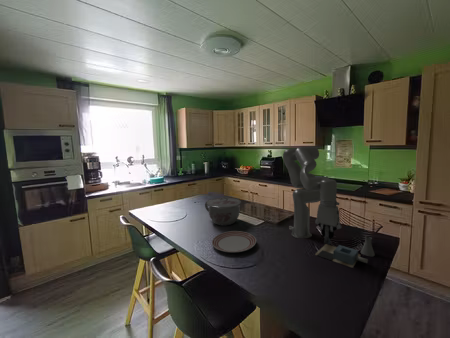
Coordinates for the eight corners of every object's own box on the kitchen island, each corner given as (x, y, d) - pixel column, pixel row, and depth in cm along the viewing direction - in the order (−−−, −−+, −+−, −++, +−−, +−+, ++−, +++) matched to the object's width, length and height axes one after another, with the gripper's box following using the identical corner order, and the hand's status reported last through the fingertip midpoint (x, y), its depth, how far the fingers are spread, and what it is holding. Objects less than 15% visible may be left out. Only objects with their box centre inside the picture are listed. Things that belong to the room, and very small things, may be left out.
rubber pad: (317, 255, 112) (317, 255, 112) (322, 250, 117) (322, 250, 116) (331, 260, 107) (331, 260, 107) (335, 255, 112) (335, 254, 112)
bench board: (314, 256, 113) (314, 254, 113) (325, 245, 124) (325, 243, 124) (352, 270, 100) (352, 267, 100) (361, 256, 112) (361, 254, 111)
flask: (360, 250, 118) (361, 233, 117) (376, 254, 113) (377, 237, 112) (358, 256, 112) (359, 238, 111) (375, 260, 108) (376, 242, 107)
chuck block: (333, 258, 109) (333, 251, 108) (339, 251, 115) (339, 244, 115) (364, 269, 99) (365, 261, 98) (369, 261, 105) (369, 253, 105)
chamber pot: (247, 225, 159) (247, 198, 157) (213, 232, 149) (212, 203, 147) (233, 214, 185) (232, 191, 183) (203, 219, 175) (201, 195, 173)
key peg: (325, 241, 112) (325, 223, 111) (331, 243, 110) (331, 224, 109) (323, 243, 110) (323, 225, 109) (329, 245, 108) (329, 226, 107)
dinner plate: (217, 260, 113) (217, 254, 113) (208, 238, 139) (207, 234, 139) (264, 251, 120) (264, 246, 120) (246, 232, 147) (246, 228, 146)
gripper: (347, 204, 105) (346, 239, 107) (315, 199, 117) (314, 231, 118) (343, 207, 100) (342, 244, 102) (309, 202, 111) (309, 235, 113)
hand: (327, 236), depth 110 cm, fingers closed on key peg, 3 cm apart
